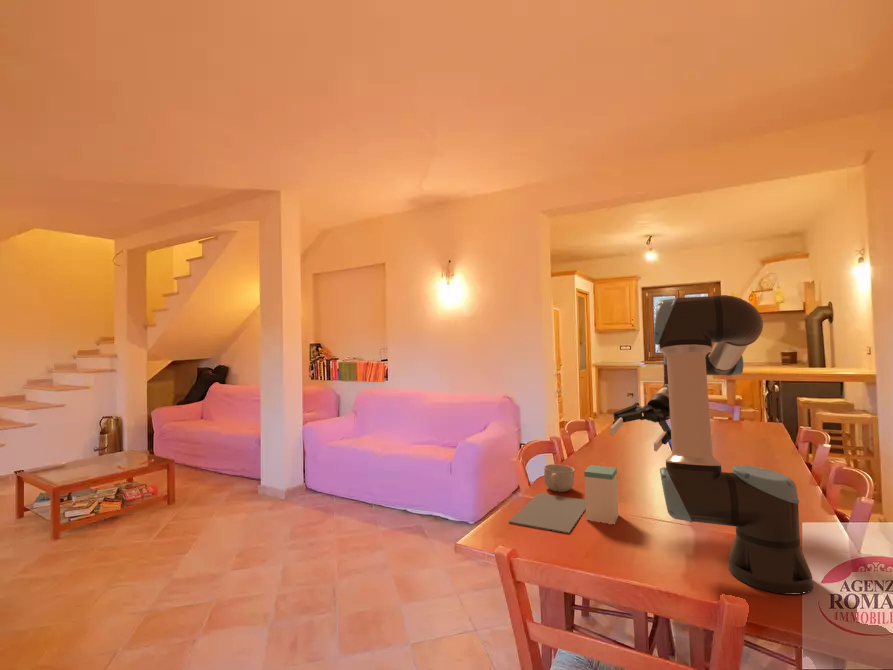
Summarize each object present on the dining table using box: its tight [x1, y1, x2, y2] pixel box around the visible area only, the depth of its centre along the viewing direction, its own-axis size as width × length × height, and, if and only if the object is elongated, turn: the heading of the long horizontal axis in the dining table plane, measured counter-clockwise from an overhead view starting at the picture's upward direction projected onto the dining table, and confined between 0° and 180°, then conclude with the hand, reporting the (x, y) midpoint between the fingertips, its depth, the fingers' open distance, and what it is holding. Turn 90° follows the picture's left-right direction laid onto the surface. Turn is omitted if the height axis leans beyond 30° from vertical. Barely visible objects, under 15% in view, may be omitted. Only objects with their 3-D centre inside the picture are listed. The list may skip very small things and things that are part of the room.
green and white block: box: [583, 464, 620, 525], centre depth 134 cm, size 8×8×14 cm
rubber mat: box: [508, 492, 586, 535], centre depth 140 cm, size 28×18×1 cm, turn 150°
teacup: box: [543, 463, 576, 493], centre depth 160 cm, size 14×11×8 cm
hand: (632, 439), depth 133 cm, fingers open, 13 cm apart
